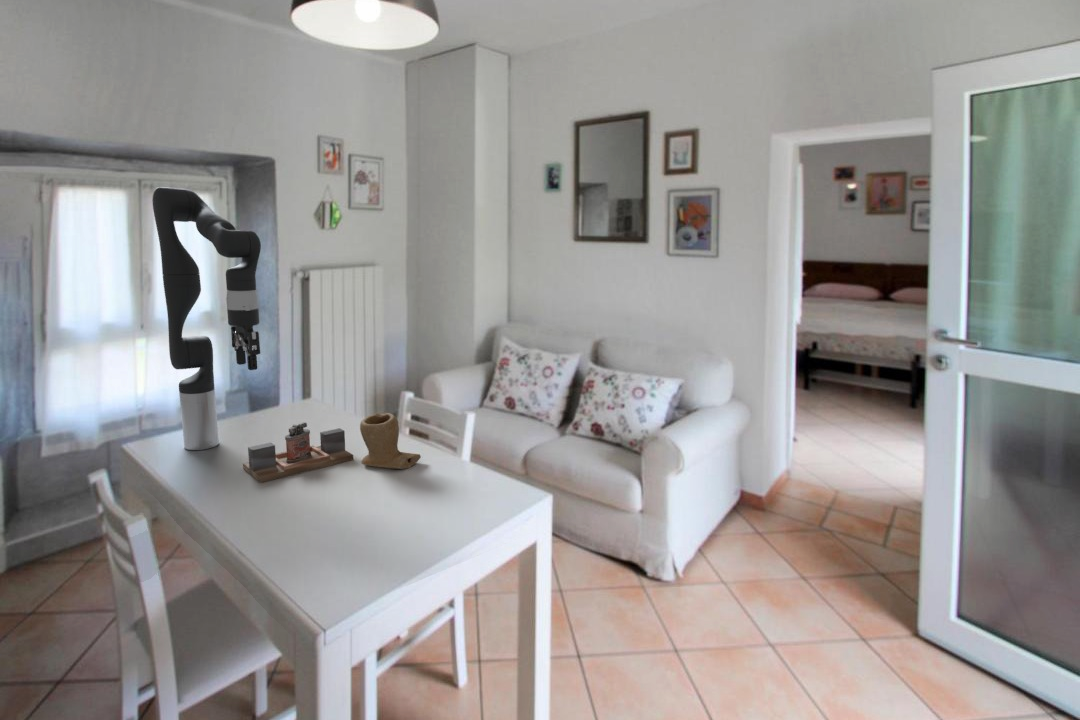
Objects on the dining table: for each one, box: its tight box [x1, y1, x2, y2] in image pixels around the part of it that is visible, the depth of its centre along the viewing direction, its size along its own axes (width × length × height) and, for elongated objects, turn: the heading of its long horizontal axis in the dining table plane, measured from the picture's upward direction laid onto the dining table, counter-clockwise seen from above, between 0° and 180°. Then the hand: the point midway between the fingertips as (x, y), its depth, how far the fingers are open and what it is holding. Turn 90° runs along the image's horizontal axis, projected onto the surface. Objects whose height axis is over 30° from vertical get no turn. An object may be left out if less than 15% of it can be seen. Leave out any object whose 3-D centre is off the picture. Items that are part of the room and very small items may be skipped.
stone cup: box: [359, 412, 422, 470], centre depth 173 cm, size 15×12×15 cm
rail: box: [242, 428, 354, 484], centre depth 174 cm, size 13×26×8 cm, turn 134°
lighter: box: [284, 421, 311, 464], centre depth 173 cm, size 8×3×10 cm, turn 157°
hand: (247, 366), depth 167 cm, fingers open, 8 cm apart
